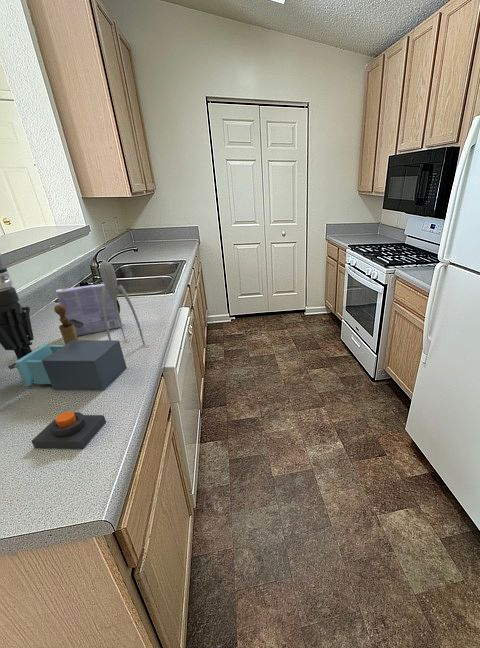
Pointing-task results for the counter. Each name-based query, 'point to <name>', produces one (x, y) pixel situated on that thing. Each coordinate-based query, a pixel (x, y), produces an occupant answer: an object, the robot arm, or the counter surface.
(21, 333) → the robot arm
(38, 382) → the drawer
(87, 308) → the cake pan box
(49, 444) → the block
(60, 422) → the button
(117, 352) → the dark grey box
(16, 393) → the counter surface
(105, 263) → the juicer
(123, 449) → the counter surface
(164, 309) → the counter surface
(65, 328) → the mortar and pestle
